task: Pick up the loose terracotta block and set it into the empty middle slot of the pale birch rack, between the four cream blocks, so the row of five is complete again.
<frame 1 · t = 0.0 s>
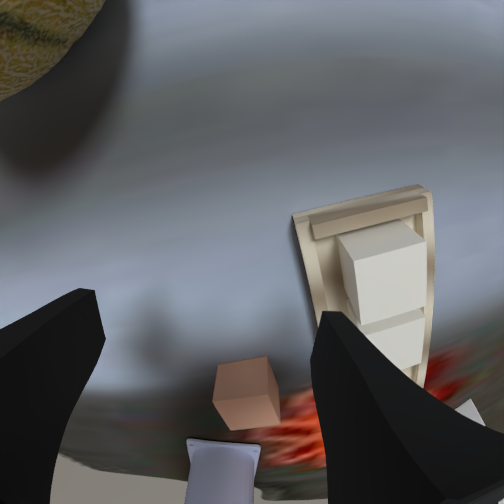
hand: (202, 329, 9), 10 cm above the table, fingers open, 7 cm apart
block cream 4: (375, 313, 20), point 1 cm above the table, touching rack
block cream 5: (370, 253, 18), point 1 cm above the table, touching rack
block terracotta: (249, 376, 24), on the table
cantaloupe: (59, 10, 12), on the table
milk: (454, 417, 28), on the table
rack: (374, 353, 23), on the table
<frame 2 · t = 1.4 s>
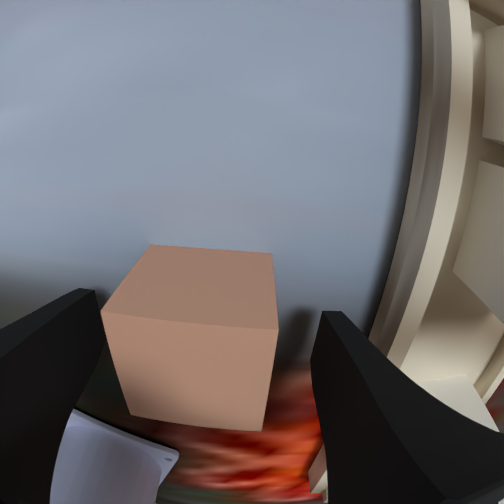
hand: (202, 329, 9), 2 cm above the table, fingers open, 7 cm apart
block cream 4: (502, 224, 8), point 1 cm above the table, touching rack
block cream 2: (420, 406, 12), point 1 cm above the table, touching rack
block terracotta: (209, 299, 11), on the table
rack: (454, 321, 11), on the table
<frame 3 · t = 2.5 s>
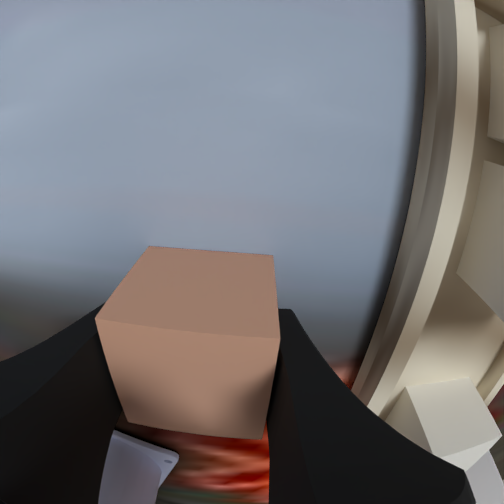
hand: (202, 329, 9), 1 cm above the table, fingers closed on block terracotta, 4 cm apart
block cream 2: (422, 408, 12), point 1 cm above the table, touching rack
block terracotta: (208, 303, 10), on the table, touching gripper
milk: (453, 465, 18), on the table
rack: (457, 323, 11), on the table
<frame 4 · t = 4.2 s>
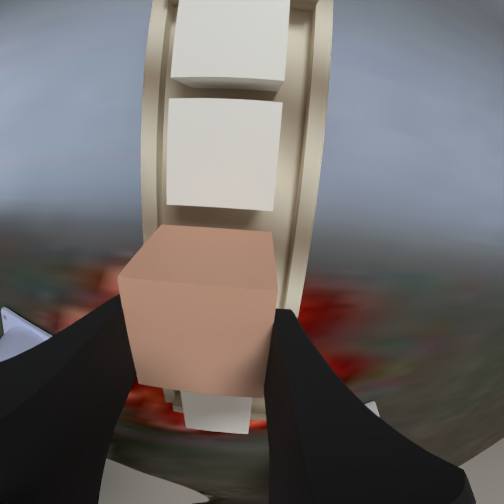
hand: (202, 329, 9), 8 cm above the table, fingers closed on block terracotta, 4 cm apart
block cream 4: (231, 145, 14), point 1 cm above the table, touching rack
block cream 1: (222, 369, 20), point 1 cm above the table, touching rack
block cream 5: (238, 50, 12), point 1 cm above the table, touching rack
block terracotta: (214, 277, 12), point 5 cm above the table, touching gripper
rack: (227, 232, 17), on the table
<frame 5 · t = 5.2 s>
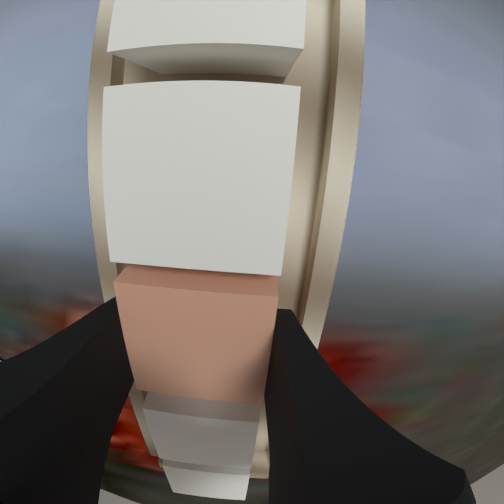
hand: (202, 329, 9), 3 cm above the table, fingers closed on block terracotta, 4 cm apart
block cream 4: (217, 156, 10), point 1 cm above the table, touching rack
block cream 1: (214, 427, 15), point 1 cm above the table, touching rack
block cream 2: (213, 373, 13), point 1 cm above the table, touching rack
block cream 5: (227, 19, 8), point 1 cm above the table, touching rack
block terracotta: (213, 280, 11), point 1 cm above the table, touching gripper, rack
rack: (215, 276, 12), on the table
when the fingers open (3 cm above the table, at t = 5.9 s): block terracotta stays where it is, resting on rack.
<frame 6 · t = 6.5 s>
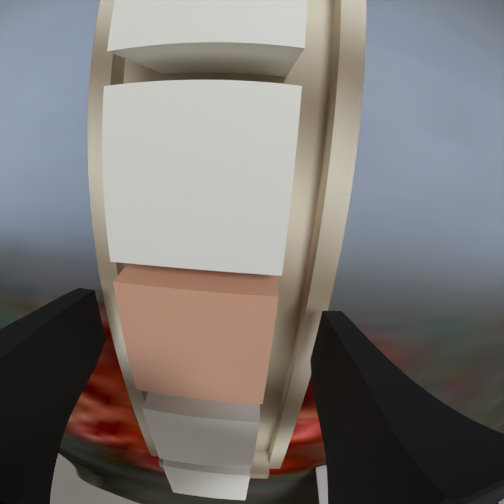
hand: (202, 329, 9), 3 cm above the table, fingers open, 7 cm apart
block cream 4: (217, 156, 10), point 1 cm above the table, touching rack
block cream 1: (214, 427, 15), point 1 cm above the table, touching rack
block cream 2: (213, 373, 13), point 1 cm above the table, touching rack
block cream 5: (227, 18, 8), point 1 cm above the table, touching rack
block terracotta: (213, 280, 11), point 1 cm above the table, touching rack
milk: (356, 467, 20), on the table
rack: (215, 276, 12), on the table
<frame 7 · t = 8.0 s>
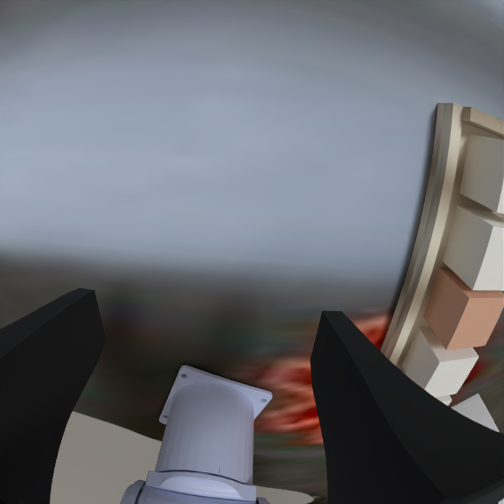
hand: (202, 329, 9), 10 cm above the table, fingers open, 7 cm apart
block cream 4: (470, 236, 17), point 1 cm above the table, touching rack
block cream 2: (429, 346, 21), point 1 cm above the table, touching rack
block cream 5: (484, 169, 15), point 1 cm above the table, touching rack
block terracotta: (451, 293, 19), point 1 cm above the table, touching rack
milk: (454, 413, 27), on the table
rack: (445, 290, 20), on the table
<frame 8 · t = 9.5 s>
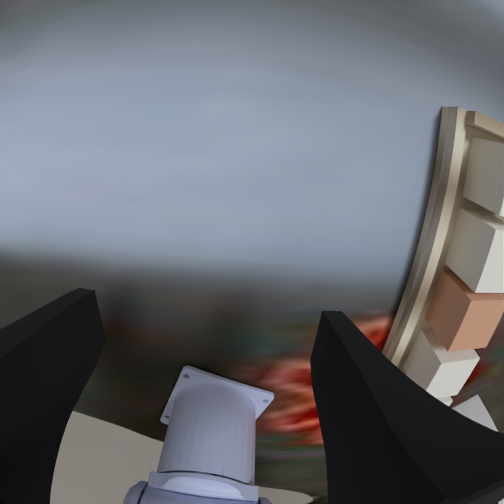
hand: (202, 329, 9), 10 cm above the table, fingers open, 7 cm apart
block cream 4: (472, 239, 17), point 1 cm above the table, touching rack
block cream 2: (430, 347, 21), point 1 cm above the table, touching rack
block cream 5: (487, 172, 15), point 1 cm above the table, touching rack
block terracotta: (453, 295, 19), point 1 cm above the table, touching rack
milk: (454, 415, 28), on the table
rack: (447, 292, 20), on the table
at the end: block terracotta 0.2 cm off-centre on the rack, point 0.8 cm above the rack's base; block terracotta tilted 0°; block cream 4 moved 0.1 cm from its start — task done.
